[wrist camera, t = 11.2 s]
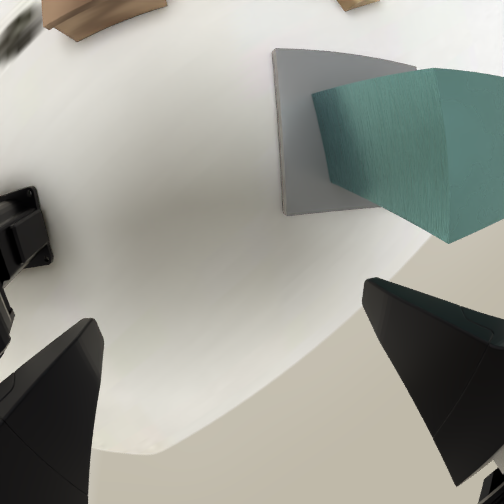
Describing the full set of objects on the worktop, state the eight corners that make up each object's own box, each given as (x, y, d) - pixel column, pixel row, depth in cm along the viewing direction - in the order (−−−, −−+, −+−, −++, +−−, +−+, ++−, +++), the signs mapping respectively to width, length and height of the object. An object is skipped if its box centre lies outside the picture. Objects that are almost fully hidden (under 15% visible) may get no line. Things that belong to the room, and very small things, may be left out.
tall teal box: (330, 182, 20) (448, 243, 9) (311, 94, 17) (433, 68, 7) (400, 165, 20) (523, 208, 10) (386, 85, 18) (517, 79, 7)
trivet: (283, 212, 22) (286, 216, 21) (272, 51, 17) (275, 48, 16) (411, 200, 23) (417, 203, 22) (409, 67, 18) (416, 66, 17)
